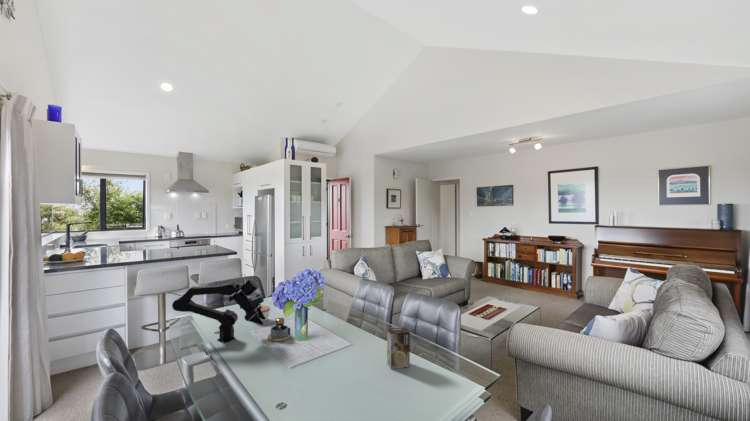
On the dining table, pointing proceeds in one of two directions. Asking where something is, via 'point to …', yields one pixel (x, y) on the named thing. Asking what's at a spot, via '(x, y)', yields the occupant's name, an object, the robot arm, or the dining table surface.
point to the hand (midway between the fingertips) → (263, 321)
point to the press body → (279, 333)
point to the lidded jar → (265, 312)
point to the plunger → (279, 322)
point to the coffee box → (398, 348)
